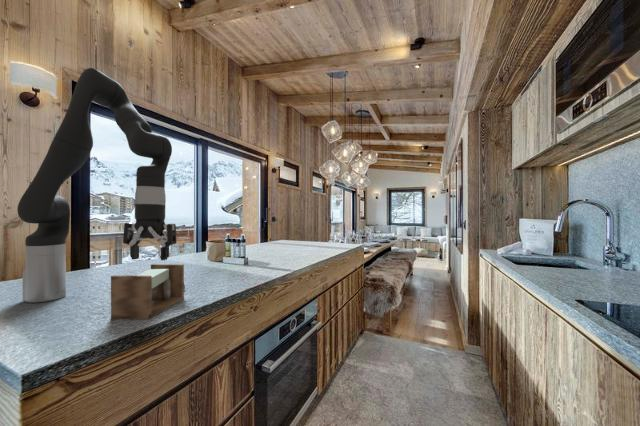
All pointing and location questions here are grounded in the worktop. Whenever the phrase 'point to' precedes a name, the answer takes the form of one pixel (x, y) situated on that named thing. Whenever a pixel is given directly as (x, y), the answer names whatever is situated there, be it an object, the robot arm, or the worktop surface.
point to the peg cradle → (146, 293)
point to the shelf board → (156, 276)
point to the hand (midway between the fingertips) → (149, 259)
